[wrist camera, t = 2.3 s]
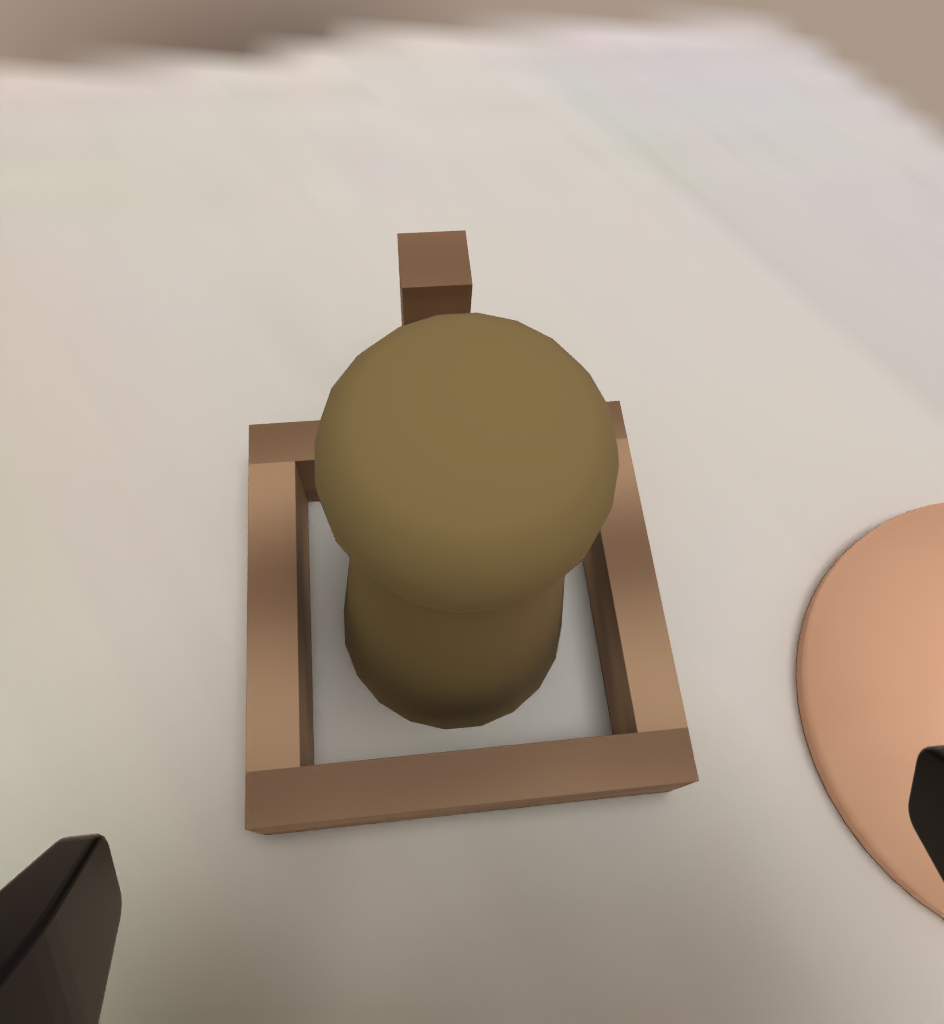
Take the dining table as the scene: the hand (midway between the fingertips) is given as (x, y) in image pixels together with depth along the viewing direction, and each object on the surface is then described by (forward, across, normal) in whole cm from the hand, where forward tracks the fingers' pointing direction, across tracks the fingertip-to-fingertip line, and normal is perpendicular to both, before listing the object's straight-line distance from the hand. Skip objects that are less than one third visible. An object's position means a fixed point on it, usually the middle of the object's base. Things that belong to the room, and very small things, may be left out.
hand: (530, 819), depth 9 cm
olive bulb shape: (+13, 0, +5) cm, 14 cm away
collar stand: (+14, 0, +4) cm, 14 cm away
